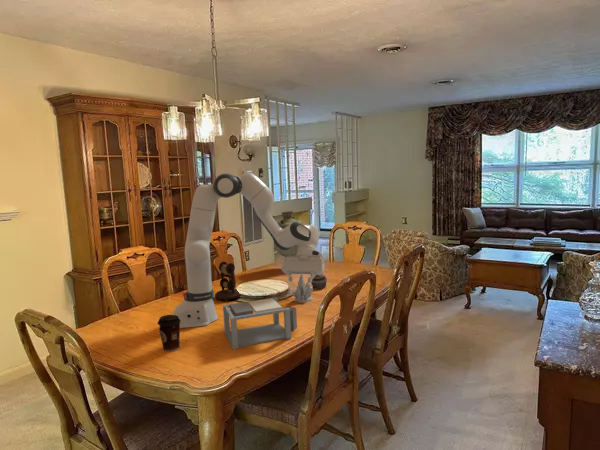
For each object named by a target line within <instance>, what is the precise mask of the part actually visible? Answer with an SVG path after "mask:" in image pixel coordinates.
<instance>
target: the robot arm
mask: <svg viewBox="0 0 600 450" xmlns="http://www.w3.org/2000/svg"><path fill="white" fill-rule="evenodd" d="M237 194H241V195H242V196H243V198H245V199H246V200H247V201H248V202H249V203H250V204H251V206H252V208H253V210H254V211H255V215H256V217H257V219H258V220H259V222H260V223H261V224H262V226H263V227H264V229H265V230H266V231H267V233H268V234H269V236H271V238H272V240H273V243H274V244H275V247H276V246H277V247H278V248H280V249H281V250H289V249H290V248H291V247H293V246H294V245H298V251H297V255H293V256H291V255H289V256H287V257H285V256H284V259H283V263H282V264H281V270H282V272H283V274H287V276H288V279H287V281H288V282H291V283H292V282H293V280H294V277H292V275H301V274H302V275H310V276H308V277H307V282H309V283H311V282H312V279H313V278H314V277H315V275H322V274H325V273H324V272H325V263H324V262H325V257H324V255H323V253H322V252H321V251H318V250H317V247H318V244H319V239H320V233H319V229H318V228H317V227H316V226H315V225H314V224H303V223H302V224H301V223H299V222H294V223H292V224H290V225H288V226H287V227H286V228H284V229H282V228H280V227H279V225H278V224H277V223H276V222H277V221H276V220H275V219H274V217H273V216H272V208H273V205H274V201H275V196H274V193H273V191H272V190H271V189H270V188H269V186H267V185H266V184H265V182H264V181H262V180H261V179H260V178H259V177H258V176H257V175H255V174H254V173H253V172H250V171H249V172H247V171H246V172H244V173H243V174H241V175H239V176H235V175H233V174H231V173H227V172H226V173H220V174H219V175H217V177H216V178H215V179H214V180H213V182H212V184H200V185H198V186H197V187H196V189H195V191H194V195H193V198H192V203H191V208H190V213H189V214H190V215H189V220H188V228H187V233H186V240H185V245H184V262H185V271H186V280H187V291H186V290H184V291H182V294H181V295H182V296H183V300H182V301H181V302H180V303H179V304H177V306H175V308H174V310H173V313H172V315H176V316H178V318H179V319H180V329H185V328H195V327H204V326H205V327H206V326H208V325H209V324H211V323H212V322H215V321H216V320H217V319H219V317H218V314H217V312H216V306H215V302H214V300H215V294H214V292H215V291H214V288H213V281H212V264H211V251H210V243H211V239H212V234H213V229H214V224H215V217H216V211H217V204H218V202H219V200H220V198H223V199H224V198H225V199H227V198H232V197H234V196H235V195H237Z"/></svg>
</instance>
